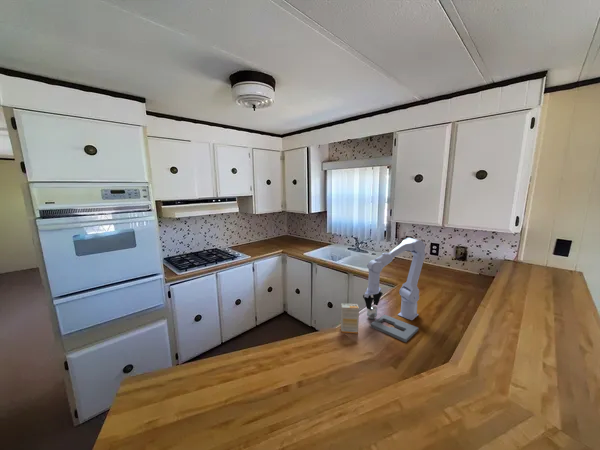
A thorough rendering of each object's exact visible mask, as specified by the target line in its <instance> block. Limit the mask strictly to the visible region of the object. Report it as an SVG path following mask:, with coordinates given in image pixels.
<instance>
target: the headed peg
mask: <svg viewBox="0 0 600 450" xmlns="http://www.w3.org/2000/svg"><path fill="white" fill-rule="evenodd" d="M366 309H367V308H366ZM366 316H367V317H368V318H369V320H375V318H377V317H378V307H377V306H376V305H375V306H374V305H372V306H371V309H367V311H366Z"/></svg>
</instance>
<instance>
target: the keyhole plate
mask: <svg viewBox="0 0 600 450" xmlns="http://www.w3.org/2000/svg"><path fill="white" fill-rule="evenodd" d="M382 322H386V323H389V324H390V325H393V326H387V325H385V324H383V323H382ZM369 325H370V328H372V329H375V330H377V331H380V332H382V333H384V334H386V335H388V336H390V337H392V338H395V339H397V340H399V341H402V342H404V343H407V342H408V341H409V340H410V339H411V338H412V337H413V336H414V335H416V333H418V331H419V327H418V326H415V325H413V324H410V323H407V322H405V321H402V320H400V319H398V318H395V317H392V316H390V315H387V314H383V315H382V316H379V317H378V318H377V319H374V321H372V322H371V323H370V324H369Z"/></svg>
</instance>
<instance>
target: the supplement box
mask: <svg viewBox="0 0 600 450" xmlns="http://www.w3.org/2000/svg"><path fill="white" fill-rule="evenodd" d="M359 316H360V307H359V305H358V303H340V331H341V333H342V334H345V333H346V334H357V335H358V334H359V324H360V323H359V320H360V319H359V318H360V317H359Z"/></svg>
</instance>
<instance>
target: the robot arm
mask: <svg viewBox="0 0 600 450" xmlns="http://www.w3.org/2000/svg"><path fill="white" fill-rule="evenodd" d="M425 250H426V244H425V242H424V241H423V240H421V239H416V238H412V237H405V238H404V239H403V240H402V241H401V243H399V244H398V245H397V246H395V248H393V249H391V250H390V251H389V252H388V251H387V252H382V253H381V255H379V256H378V257H376V258H374V259H371V260H370V261H369V262H367V265H366V267H367V269H368V276H367V277H368V280H367V288H366V289H365V290H366V291H365V292H364V294H363V295H362V298H363V299H364V300H363V301H364V302H365V307H366V309H371V306H373V305H375V306H378V305H379V302H380V300H381V297H382V296H383V291H382V287H380V279H381V277H380V276H381V272H382V271H383V268H384V267H386V266H387V265H389V264H390V263H391V262H393V259H394V258H395V257H397V256H399V255H400V254H402V253H404V252H406V251H407V252H410V253H411V254H412V255H413V256H412V260H411V263H410V267H409V270H408V275H407V277H406V282H404V283H402V286H401V287H400V289H399V291H398V292H399V295H400V297H401V304H400V312H399V313H398V314H397V316H399V317H402V318H405V319H407V320H410V321H413V320H415V318H417V317H418V316H419V313H418V301H419V300H420V289H419V287H418V282H419V279H420V277H421V272H422V268H423V265H424V264H423V263H424V261H425V257H426V251H425ZM372 304H373V305H372Z"/></svg>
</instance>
